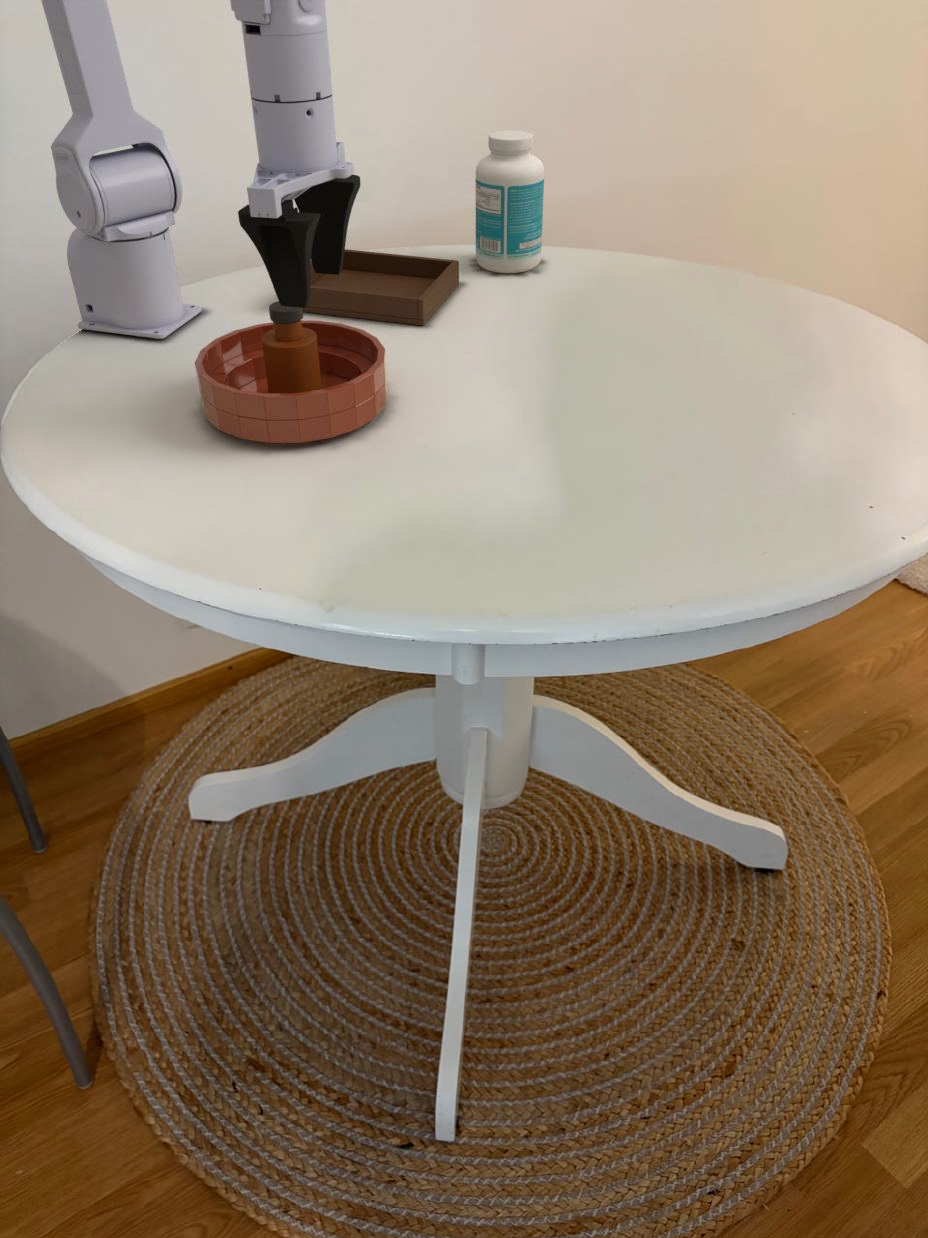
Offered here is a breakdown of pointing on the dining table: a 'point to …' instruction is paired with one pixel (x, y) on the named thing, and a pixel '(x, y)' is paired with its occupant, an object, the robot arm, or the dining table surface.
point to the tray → (384, 287)
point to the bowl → (254, 414)
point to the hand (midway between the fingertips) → (312, 288)
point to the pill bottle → (509, 204)
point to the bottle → (290, 353)
